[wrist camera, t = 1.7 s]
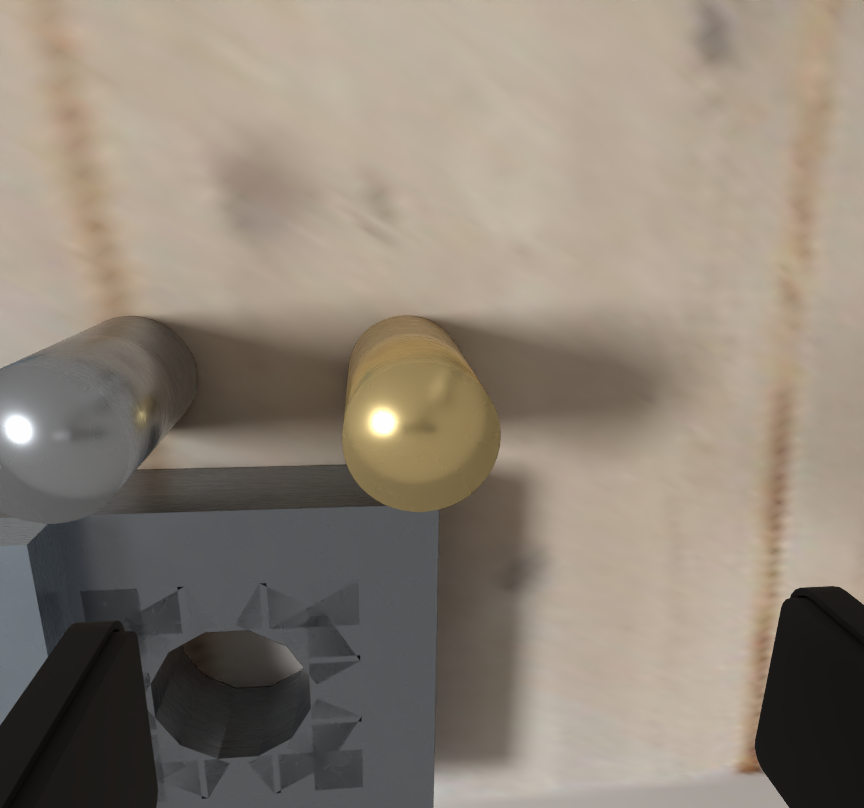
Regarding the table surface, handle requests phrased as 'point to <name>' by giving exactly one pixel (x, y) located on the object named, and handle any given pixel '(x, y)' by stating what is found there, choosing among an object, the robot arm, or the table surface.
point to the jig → (250, 629)
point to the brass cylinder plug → (416, 417)
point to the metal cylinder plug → (88, 416)
